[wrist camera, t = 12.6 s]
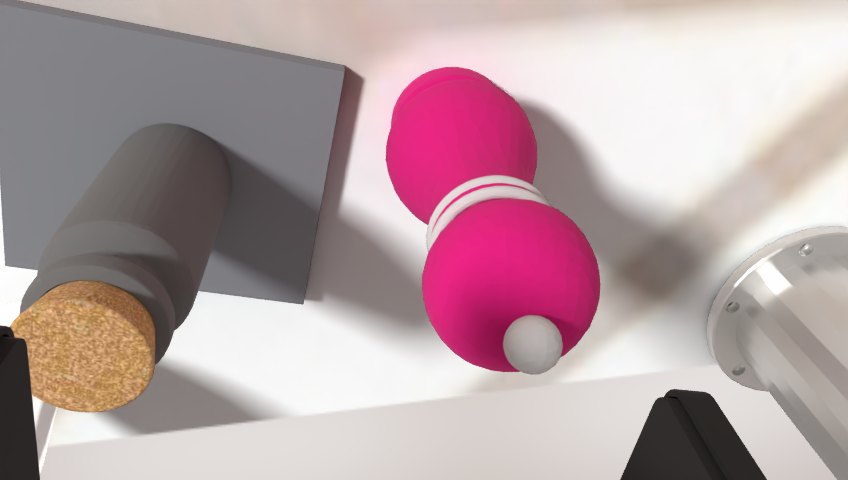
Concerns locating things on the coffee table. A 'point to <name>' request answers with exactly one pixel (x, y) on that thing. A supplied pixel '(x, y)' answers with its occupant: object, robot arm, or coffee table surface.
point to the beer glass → (42, 410)
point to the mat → (159, 104)
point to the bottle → (124, 270)
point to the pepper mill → (488, 226)
